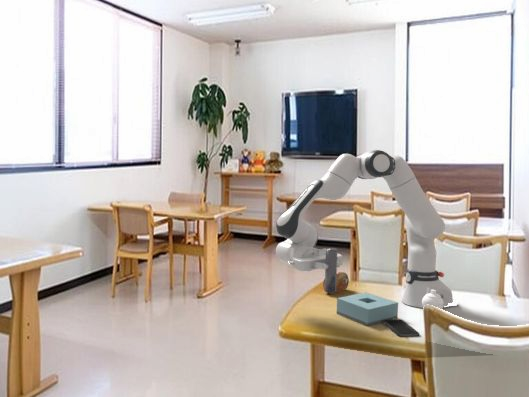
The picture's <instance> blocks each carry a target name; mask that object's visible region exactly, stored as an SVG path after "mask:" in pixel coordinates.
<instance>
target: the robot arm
mask: <svg viewBox="0 0 529 397" xmlns="http://www.w3.org/2000/svg"><path fill="white" fill-rule="evenodd" d="M357 178H358V179H361V180H374V179H377V178H383V179H384V181H385V182H386V183H387V186H388V188H389V190H390V192H391V193H392V196H393V197H394V199H395V201H396V202H397V204H398V206H399V207H400V209H401V210H402V212H404V214H405V216H404V224H405V229H406V230H405V231H406V240H407V248H408V249H407V251H408V252H407V267H406V270H405V271H406V272H405V288H404V293H403V295H402V299H401V302H402V303H403V304H405V305H407V306H411V307H414V308H420V309H424V308H423V305H422V299H423V297H424V296H425V295H426V294H428V293H431V290H436V294H438V295H440V296H441V298H442V299H443V301H444V306H447V305H448V303H452V302H453V300H454V299H453V292H452V290H451V287H449V286H447V285H446V284H445V283H444V282H443V281H441V279H440V278H444V277H445V273H444V272H442V271H438V270H436V269H437V266H436V265H437V264H436V263H437V249H436V247H435V246H436V245H435V241H434V239H438V238H439V237H441V236H442V235H443V234H444V232H445V228H446V223H445V221H444V219H443V218H442V216H440V214H439V212H438V211H437V209H436V208H435V206H434V205H433V204H432V201H431V200H430V199H429V198H428V196H427V195H426V194H425V192H424V190H423V189H422V187H421V184H420V183H419V181H418V179H417V177H416V176H415V174H414V172H413V170H412V168H411V167H410V166H409V164H408V163H407V161H406V160H405V159H404V158H403V157H402V156H400V155H393V156H391V155H390V154H388V153H387V152H386V151H384V150H381V149H375V150H369V151H365V152H363V153H360V154H358V155H356V156H355V155H353V154H351V153H342V154H340V155H339V156H338V157H337V158H336V160H334V162H333V163H332V164H331V166H330V167H329V168H328V169H327V171H326V173H325V174H324V175H323V176H322V177H320V178H319V179H315V180H313V181H312V182H310V183H309V185H307V186H306V188H304V190H302V192H301V193H300V194H299V195H298V196H297V198H296V199H295V200H294V201H293V202H292V204H291V205H290V206H289V207H288V208H287V209H286V210H284V211H283V212H282V213H281V214H280V215H278V217H277V219H276V224H275V225H276V226H275V227H276V232H277V234H278V235H280V236H281V237H283V238H285V240H284V241H280V242H279V243H278V244H277V245H276V248H275V255H276V258H277V259H278V260H279V261H280V262H281V263H283V264H284V265H288V266H289V267H292V268H293V269H295V270H297V271H300V272H310V271H313V270H318V269H320V270H325V269H328V268H329V267H328V266H329V265H328V264H326V263H325V262H326V248H324V247H323V248H322V247H316V245H317V242H318V240H319V233H318V229H317V228H316V227H315V226H313V225H312V224H310V223H309V222H307V221H306V220H305V219H303V218H302V215H303V214H304V213H305V211H306V210H307V209H308V208H309V206H311V204H312V203H313V202H314V201H316V200H318V199H325V200H330V201H337V200H341V199H343V197H345V196H346V195H347V193H348V192H349V190H350V189H351V187H352V185H353V183H355V180H357ZM343 260H344V258H343V255H342V254H340V253H338V252H337V268H340V267H341V266H343V262H344V261H343ZM444 306H443V307H444Z"/></svg>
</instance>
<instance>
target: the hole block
mask: <svg viewBox="0 0 529 397" xmlns="http://www.w3.org/2000/svg"><path fill="white" fill-rule="evenodd" d="M398 311H399V302H397V301H394V300H391V299H388V298H385V297H383V296H379V295H375V294H373V293H370V292H367V291H366V292H362V293H361V292H360V293H357V294H350V295H347V296H342V297H337V298H336V314H337V315H339V316H342V317H344V318H347V319H349V320H352V321H354V322H357V323H360V324H362V325H365V326H368V327H369V326H372V325H373V326H374V325H376V324H380V323H383V320H397V319H398V315H399V314H398Z"/></svg>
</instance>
